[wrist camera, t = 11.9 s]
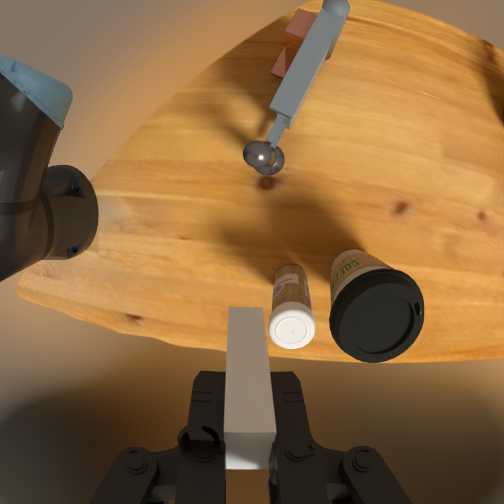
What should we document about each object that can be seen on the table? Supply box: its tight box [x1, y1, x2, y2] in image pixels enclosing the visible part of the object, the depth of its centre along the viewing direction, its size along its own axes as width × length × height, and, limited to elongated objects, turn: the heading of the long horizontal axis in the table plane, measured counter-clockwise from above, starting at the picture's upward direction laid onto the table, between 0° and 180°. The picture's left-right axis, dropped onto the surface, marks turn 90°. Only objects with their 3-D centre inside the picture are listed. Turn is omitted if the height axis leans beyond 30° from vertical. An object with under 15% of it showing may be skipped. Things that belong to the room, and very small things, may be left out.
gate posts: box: [243, 8, 317, 175], centre depth 27 cm, size 18×7×16 cm, turn 155°
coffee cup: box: [329, 249, 424, 363], centre depth 32 cm, size 10×10×15 cm
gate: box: [266, 0, 350, 148], centre depth 27 cm, size 16×2×14 cm, turn 155°
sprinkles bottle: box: [268, 265, 315, 349], centre depth 34 cm, size 5×5×14 cm
